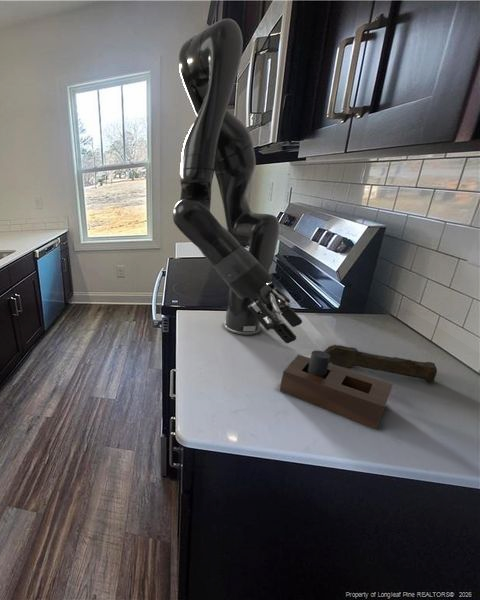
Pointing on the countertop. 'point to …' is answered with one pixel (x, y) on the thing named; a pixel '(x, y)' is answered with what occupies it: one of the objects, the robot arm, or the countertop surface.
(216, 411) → the countertop surface
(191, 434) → the countertop surface
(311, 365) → the dark grey cylinder
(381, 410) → the holder
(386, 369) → the hand tool
